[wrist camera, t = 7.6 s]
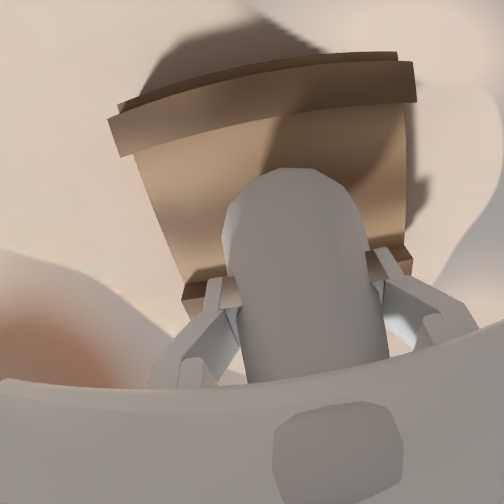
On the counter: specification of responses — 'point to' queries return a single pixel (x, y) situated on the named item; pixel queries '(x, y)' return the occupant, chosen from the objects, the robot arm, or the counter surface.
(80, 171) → the counter surface
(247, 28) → the counter surface
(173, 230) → the display stand
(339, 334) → the salt shaker
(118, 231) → the counter surface
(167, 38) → the counter surface
